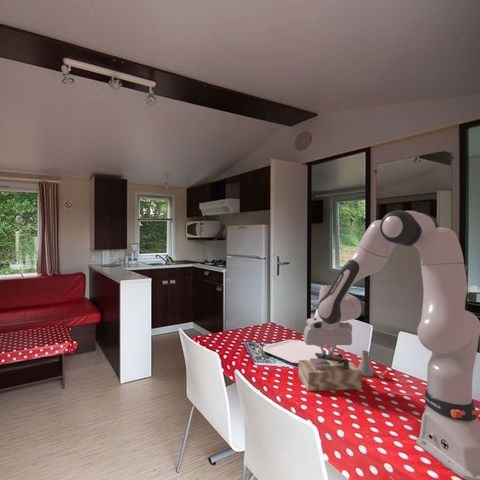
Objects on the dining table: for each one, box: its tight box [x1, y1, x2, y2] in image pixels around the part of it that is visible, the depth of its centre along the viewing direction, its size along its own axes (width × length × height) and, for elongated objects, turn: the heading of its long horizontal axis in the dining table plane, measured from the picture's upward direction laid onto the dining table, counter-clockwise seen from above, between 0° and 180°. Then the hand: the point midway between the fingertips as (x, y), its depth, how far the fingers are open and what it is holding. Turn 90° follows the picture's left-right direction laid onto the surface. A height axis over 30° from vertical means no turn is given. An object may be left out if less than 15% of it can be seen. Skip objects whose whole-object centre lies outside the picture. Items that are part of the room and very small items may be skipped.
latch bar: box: [315, 353, 345, 362], centre depth 132 cm, size 12×4×1 cm, turn 96°
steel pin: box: [310, 358, 330, 369], centre depth 131 cm, size 6×6×8 cm
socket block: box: [297, 353, 363, 392], centre depth 132 cm, size 22×13×10 cm, turn 96°
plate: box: [262, 339, 329, 365], centre depth 165 cm, size 29×29×2 cm
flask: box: [357, 350, 374, 378], centre depth 142 cm, size 7×7×10 cm
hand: (327, 354), depth 132 cm, fingers closed
